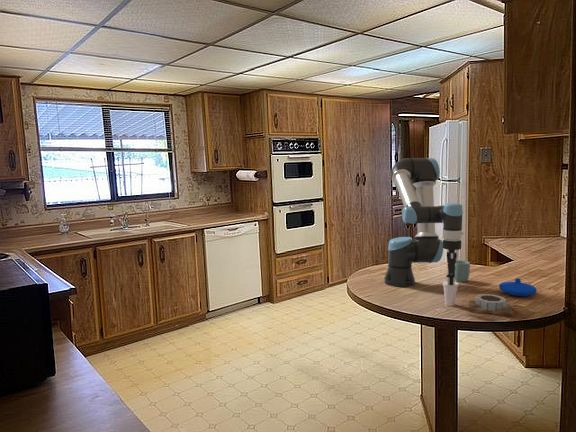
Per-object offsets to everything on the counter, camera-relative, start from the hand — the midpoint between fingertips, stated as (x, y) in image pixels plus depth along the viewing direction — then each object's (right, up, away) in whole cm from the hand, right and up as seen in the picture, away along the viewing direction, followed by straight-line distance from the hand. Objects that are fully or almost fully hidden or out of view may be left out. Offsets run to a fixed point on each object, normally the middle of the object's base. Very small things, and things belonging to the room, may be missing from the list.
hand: (450, 288), depth 189 cm
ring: (+15, -7, -5) cm, 17 cm away
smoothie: (0, -8, +1) cm, 8 cm away
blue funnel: (+37, -6, +16) cm, 41 cm away
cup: (+19, -3, +38) cm, 42 cm away
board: (+15, -8, -5) cm, 18 cm away
